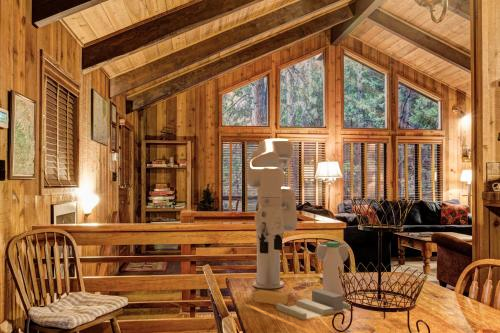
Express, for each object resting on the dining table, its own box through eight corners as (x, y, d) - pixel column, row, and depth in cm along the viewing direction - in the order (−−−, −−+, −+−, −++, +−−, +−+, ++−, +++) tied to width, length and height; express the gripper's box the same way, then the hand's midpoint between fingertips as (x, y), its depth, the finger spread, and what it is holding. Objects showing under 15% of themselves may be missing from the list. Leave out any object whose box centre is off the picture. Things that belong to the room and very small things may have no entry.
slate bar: (311, 303, 161) (311, 290, 161) (320, 302, 163) (320, 289, 163) (333, 311, 152) (333, 297, 152) (343, 309, 154) (342, 295, 154)
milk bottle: (343, 298, 172) (343, 243, 172) (322, 297, 173) (322, 243, 174) (343, 293, 179) (343, 241, 180) (323, 292, 181) (323, 240, 181)
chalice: (352, 276, 211) (352, 243, 211) (342, 282, 199) (342, 247, 199) (323, 273, 218) (323, 241, 218) (311, 279, 206) (311, 244, 206)
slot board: (276, 311, 155) (276, 303, 155) (324, 302, 166) (324, 295, 166) (302, 322, 143) (302, 314, 143) (353, 312, 154) (352, 304, 154)
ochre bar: (254, 304, 165) (254, 291, 165) (260, 302, 168) (260, 289, 168) (282, 309, 159) (281, 295, 159) (287, 306, 162) (287, 293, 162)
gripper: (267, 203, 155) (268, 255, 155) (292, 201, 170) (292, 249, 169) (248, 203, 159) (248, 253, 159) (273, 201, 174) (274, 247, 173)
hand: (271, 251), depth 164 cm, fingers open, 9 cm apart
